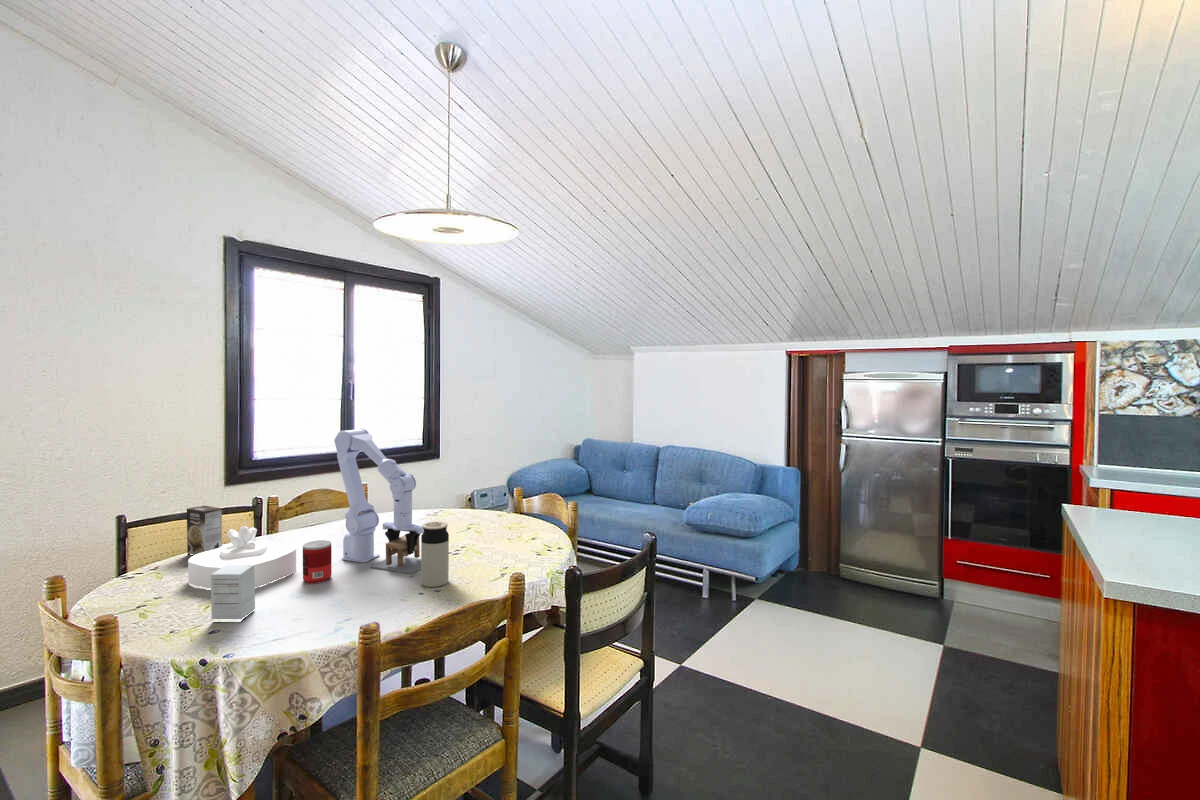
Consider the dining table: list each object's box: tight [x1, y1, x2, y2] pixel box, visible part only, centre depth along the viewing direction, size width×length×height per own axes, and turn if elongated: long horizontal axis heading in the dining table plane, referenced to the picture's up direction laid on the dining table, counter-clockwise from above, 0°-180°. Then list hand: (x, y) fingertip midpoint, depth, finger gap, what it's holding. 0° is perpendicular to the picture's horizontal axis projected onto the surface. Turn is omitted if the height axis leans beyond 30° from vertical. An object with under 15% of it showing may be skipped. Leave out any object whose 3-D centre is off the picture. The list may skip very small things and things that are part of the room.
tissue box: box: [187, 525, 297, 588], centre depth 179 cm, size 25×25×16 cm
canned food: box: [302, 539, 332, 584], centre depth 178 cm, size 8×8×11 cm
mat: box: [370, 554, 421, 575], centre depth 192 cm, size 16×12×1 cm
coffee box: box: [186, 504, 223, 555], centre depth 199 cm, size 9×6×16 cm
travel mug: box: [420, 520, 450, 588], centre depth 176 cm, size 8×8×18 cm
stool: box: [385, 534, 421, 567], centre depth 192 cm, size 10×6×7 cm, turn 162°
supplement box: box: [210, 565, 256, 620], centre depth 150 cm, size 7×7×13 cm
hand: (402, 552), depth 192 cm, fingers closed on stool, 5 cm apart
